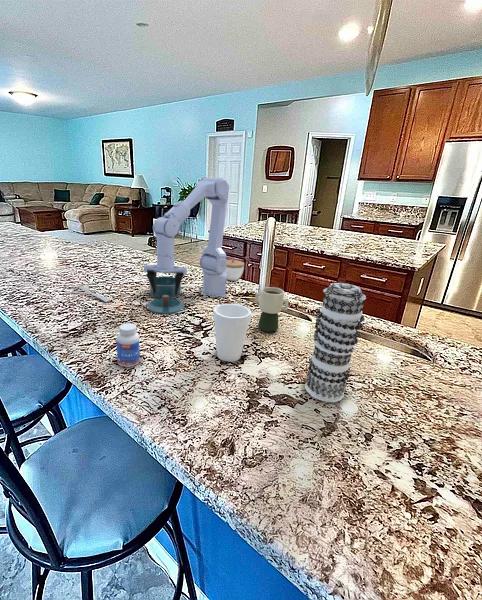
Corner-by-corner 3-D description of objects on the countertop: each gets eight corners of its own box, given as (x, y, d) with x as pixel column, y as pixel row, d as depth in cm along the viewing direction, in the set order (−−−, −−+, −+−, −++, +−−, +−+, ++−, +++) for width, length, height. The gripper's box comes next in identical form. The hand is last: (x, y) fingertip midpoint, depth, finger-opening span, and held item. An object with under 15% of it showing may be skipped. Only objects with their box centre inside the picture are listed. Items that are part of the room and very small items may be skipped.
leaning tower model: (341, 409, 67) (368, 298, 58) (298, 393, 72) (316, 287, 63) (349, 387, 75) (374, 285, 66) (309, 374, 79) (327, 276, 70)
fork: (105, 309, 116) (105, 302, 115) (72, 289, 127) (72, 283, 126) (112, 306, 119) (112, 300, 117) (79, 288, 129) (78, 281, 128)
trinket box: (241, 283, 145) (243, 262, 142) (218, 280, 147) (219, 260, 143) (244, 276, 155) (245, 257, 151) (222, 274, 157) (223, 255, 153)
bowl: (183, 290, 133) (183, 277, 131) (178, 300, 121) (178, 286, 119) (153, 288, 133) (153, 275, 131) (146, 298, 122) (145, 284, 120)
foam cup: (249, 350, 88) (254, 307, 84) (242, 368, 80) (246, 320, 75) (217, 344, 91) (219, 301, 86) (206, 360, 83) (208, 314, 78)
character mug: (288, 330, 102) (294, 291, 97) (279, 338, 96) (284, 298, 91) (257, 320, 107) (261, 283, 103) (247, 327, 102) (251, 289, 97)
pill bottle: (120, 369, 77) (118, 333, 74) (115, 358, 82) (113, 323, 78) (142, 364, 80) (141, 329, 76) (136, 354, 84) (135, 320, 80)
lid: (186, 302, 120) (187, 291, 118) (181, 316, 107) (181, 304, 106) (151, 300, 121) (151, 288, 119) (142, 314, 108) (142, 301, 107)
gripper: (141, 255, 104) (142, 295, 109) (185, 258, 103) (184, 298, 108) (146, 251, 110) (147, 288, 115) (188, 253, 109) (187, 291, 114)
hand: (165, 292), depth 112 cm, fingers open, 7 cm apart
